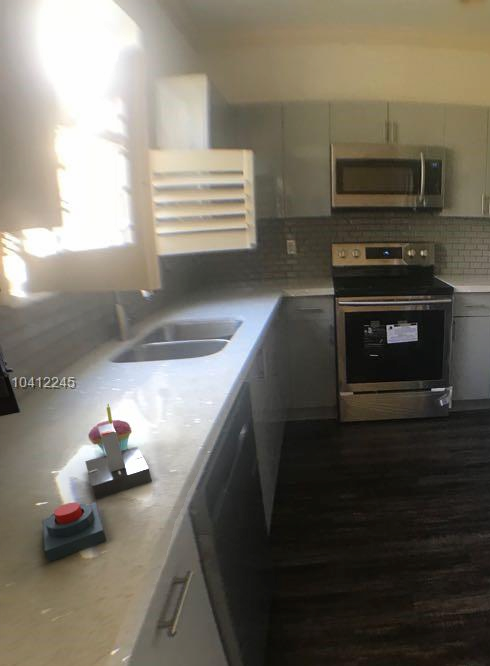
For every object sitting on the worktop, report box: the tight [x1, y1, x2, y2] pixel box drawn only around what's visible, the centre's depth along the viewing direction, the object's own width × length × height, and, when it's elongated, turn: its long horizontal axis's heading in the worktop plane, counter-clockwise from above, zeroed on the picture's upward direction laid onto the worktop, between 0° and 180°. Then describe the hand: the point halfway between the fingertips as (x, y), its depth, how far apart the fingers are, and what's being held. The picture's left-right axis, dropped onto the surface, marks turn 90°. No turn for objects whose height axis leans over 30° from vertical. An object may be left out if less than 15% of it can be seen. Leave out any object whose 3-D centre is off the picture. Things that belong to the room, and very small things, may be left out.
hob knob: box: [98, 423, 125, 472], centre depth 92 cm, size 6×3×8 cm, turn 37°
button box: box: [42, 501, 107, 563], centre depth 77 cm, size 10×8×4 cm
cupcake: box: [87, 403, 132, 455], centre depth 104 cm, size 9×8×12 cm
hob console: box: [85, 446, 153, 500], centre depth 94 cm, size 12×10×3 cm
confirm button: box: [53, 501, 82, 524], centre depth 76 cm, size 4×4×2 cm
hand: (10, 412), depth 77 cm, fingers closed
